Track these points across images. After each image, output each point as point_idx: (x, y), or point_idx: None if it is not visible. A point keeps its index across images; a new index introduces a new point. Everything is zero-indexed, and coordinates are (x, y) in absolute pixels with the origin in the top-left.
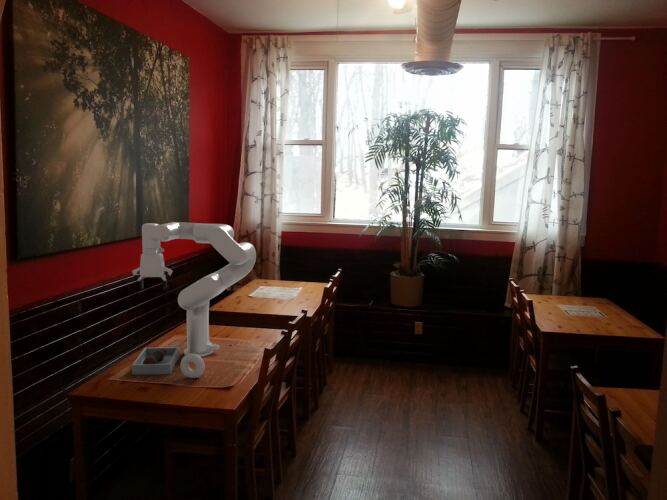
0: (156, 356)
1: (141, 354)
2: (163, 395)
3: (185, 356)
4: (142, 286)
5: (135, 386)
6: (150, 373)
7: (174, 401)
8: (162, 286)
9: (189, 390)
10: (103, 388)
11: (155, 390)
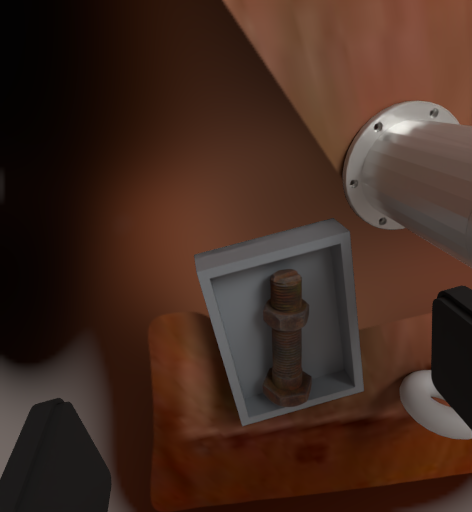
0: (298, 358)
1: (224, 341)
2: (369, 465)
3: (444, 435)
4: (88, 497)
5: (283, 450)
6: None
7: (400, 478)
8: (467, 425)
9: (422, 432)
10: (207, 478)
11: (342, 453)
